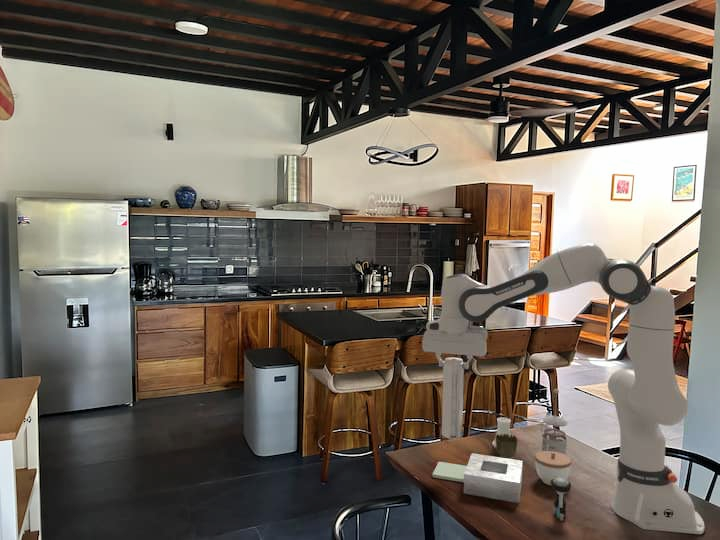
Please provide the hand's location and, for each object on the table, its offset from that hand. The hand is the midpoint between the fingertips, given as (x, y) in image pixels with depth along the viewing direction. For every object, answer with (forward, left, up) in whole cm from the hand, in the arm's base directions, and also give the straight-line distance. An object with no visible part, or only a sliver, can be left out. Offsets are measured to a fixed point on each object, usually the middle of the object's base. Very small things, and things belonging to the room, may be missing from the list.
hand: (453, 367), depth 169 cm
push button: (-33, +15, -35) cm, 50 cm away
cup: (-16, -17, -35) cm, 42 cm away
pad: (0, 0, -35) cm, 35 cm away
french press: (-31, -24, -35) cm, 53 cm away
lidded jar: (-31, -6, -35) cm, 47 cm away
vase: (-14, -29, -35) cm, 48 cm away
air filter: (0, 0, -22) cm, 22 cm away
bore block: (-14, +4, -35) cm, 38 cm away
